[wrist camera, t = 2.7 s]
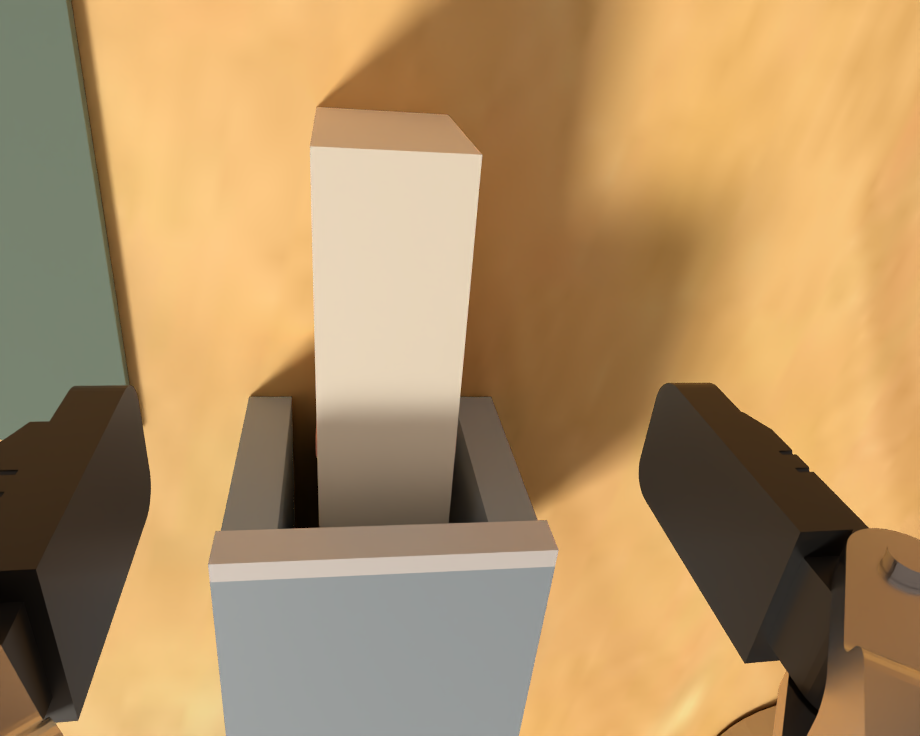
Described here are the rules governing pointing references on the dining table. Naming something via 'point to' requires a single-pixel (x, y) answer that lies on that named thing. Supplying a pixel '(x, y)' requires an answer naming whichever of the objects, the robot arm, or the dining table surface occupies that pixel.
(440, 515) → the tall cream rectangular prism
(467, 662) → the dispenser sleeve
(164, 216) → the dining table surface
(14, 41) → the rubber mat
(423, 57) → the dining table surface
